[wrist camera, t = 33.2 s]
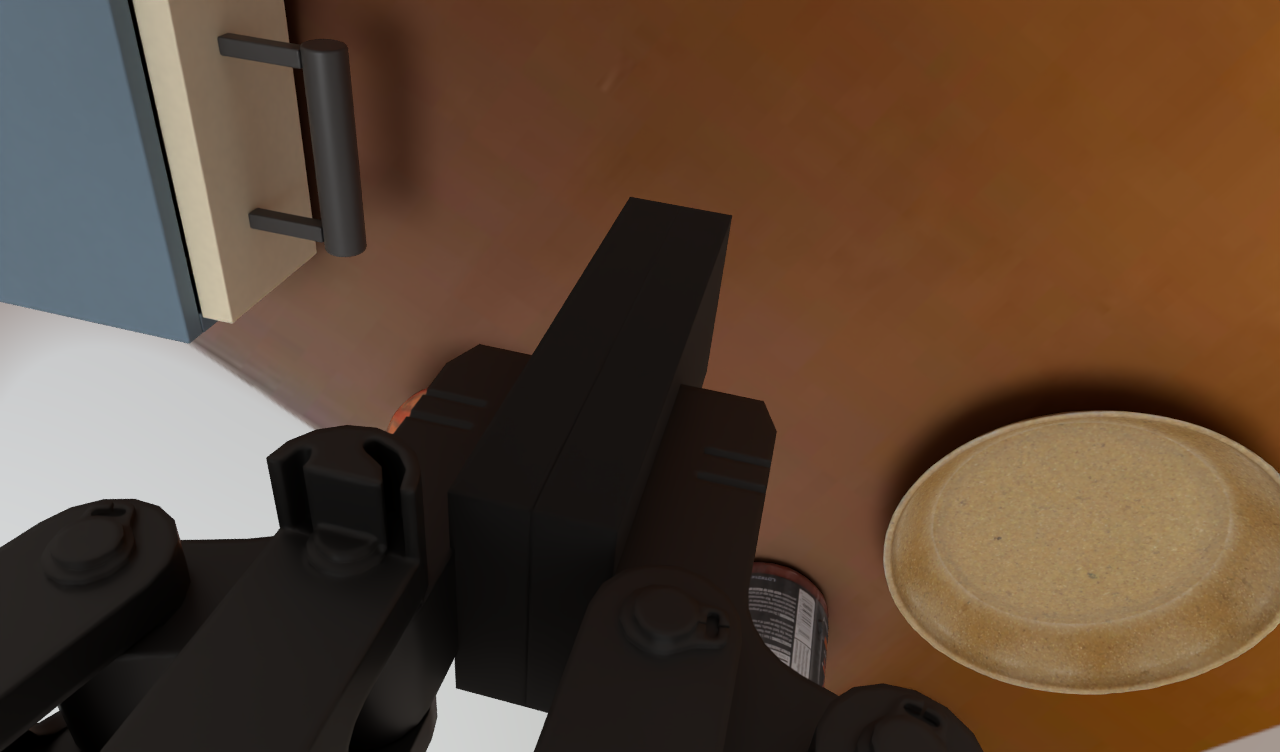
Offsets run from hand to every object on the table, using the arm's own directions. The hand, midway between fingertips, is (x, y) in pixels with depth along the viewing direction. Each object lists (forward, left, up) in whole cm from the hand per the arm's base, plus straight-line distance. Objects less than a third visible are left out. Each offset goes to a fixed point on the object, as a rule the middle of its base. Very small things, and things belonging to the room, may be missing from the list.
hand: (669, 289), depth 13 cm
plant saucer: (+23, +1, -19) cm, 30 cm away
